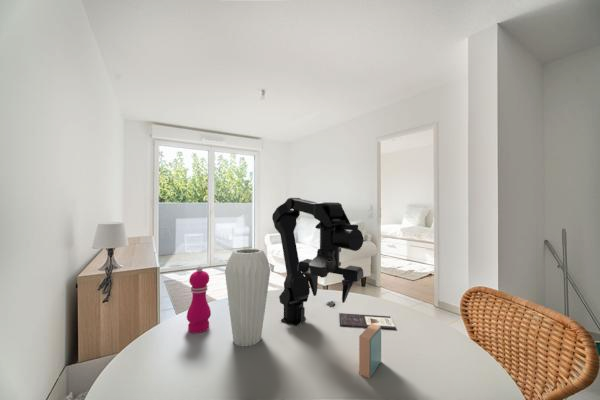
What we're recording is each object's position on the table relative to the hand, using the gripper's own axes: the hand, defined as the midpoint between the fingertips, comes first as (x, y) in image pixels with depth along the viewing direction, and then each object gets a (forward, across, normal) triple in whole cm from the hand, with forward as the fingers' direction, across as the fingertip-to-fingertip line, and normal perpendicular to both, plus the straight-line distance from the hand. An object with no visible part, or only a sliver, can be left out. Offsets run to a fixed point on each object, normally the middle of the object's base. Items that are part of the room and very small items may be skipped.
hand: (328, 298), depth 75 cm
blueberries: (+14, -11, +27) cm, 32 cm away
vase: (+13, -21, -11) cm, 27 cm away
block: (+13, +14, -4) cm, 19 cm away
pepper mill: (+14, -39, -15) cm, 44 cm away
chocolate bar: (+14, +5, +19) cm, 24 cm away
